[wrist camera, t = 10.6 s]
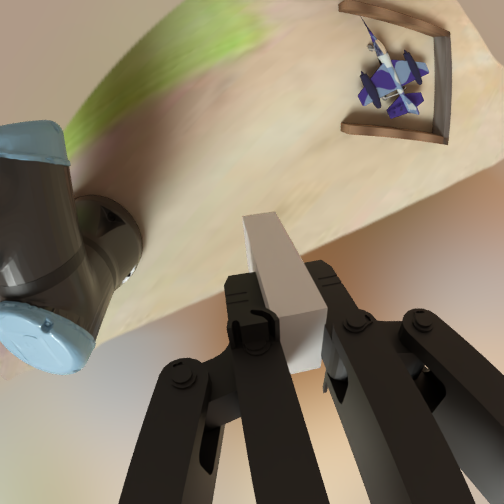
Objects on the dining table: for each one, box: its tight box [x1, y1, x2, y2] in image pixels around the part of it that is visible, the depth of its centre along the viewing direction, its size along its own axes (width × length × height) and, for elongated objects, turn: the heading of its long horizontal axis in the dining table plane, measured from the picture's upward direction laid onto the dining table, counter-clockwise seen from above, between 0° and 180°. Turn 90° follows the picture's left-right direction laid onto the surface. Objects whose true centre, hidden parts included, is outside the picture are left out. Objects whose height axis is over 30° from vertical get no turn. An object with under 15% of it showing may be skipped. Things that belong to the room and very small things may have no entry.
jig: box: [338, 0, 452, 145], centre depth 31 cm, size 18×19×3 cm
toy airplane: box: [358, 13, 429, 119], centre depth 31 cm, size 13×14×4 cm
